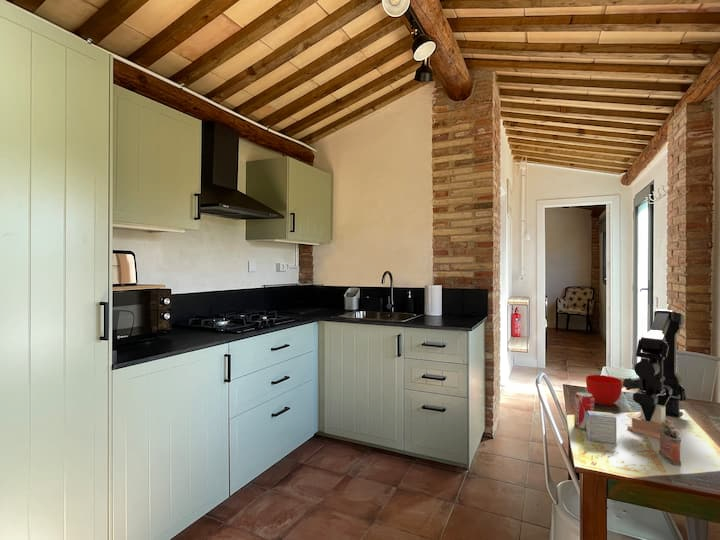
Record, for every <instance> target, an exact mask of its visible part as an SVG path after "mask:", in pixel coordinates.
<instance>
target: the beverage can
mask: <svg viewBox="0 0 720 540" xmlns="http://www.w3.org/2000/svg"><path fill="white" fill-rule="evenodd" d="M573 400H574V401H573V402H574V404H573V405H574V406H573V407H574V416H573V417H574V420H573V421H574V425H575V426H576V427H577V428H579V429H582V430H585V431H587V411H595V401H594V398H593V396H592V394H590V393H588V391H577V392H576V393H575V395H574V397H573Z"/></svg>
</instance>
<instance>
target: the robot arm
mask: <svg viewBox="0 0 720 540" xmlns="http://www.w3.org/2000/svg"><path fill="white" fill-rule="evenodd" d="M684 323H685V316H684V314H683V313H681V312H680V311H674V310H671V309H660V308H659V309H656V310H655V311H654V313H653V321H652V324H651V326H650V328H649V331H647V332H643V334H642V335H641V337H640V338H639V339H638V343H637V347H636V354H635V357H637V358H640V361H638V362H636V364H635V365H634V373H635V374H636V375H637V376H638V377H634V378H631V377H629V378H623V381H622V387H624V388H625V390H626V391H630V390H636V389H637V390H638V391H636V392H634V393H633V394H632V401H634V402H635V403H636V404H638V405H639V406H640V409H641V408H642V410H643V413H644V416H645V419H646V421H649V422H650V420H651V418H652V416H653V414H654V412H655V409H656V407H657V405H662V406H665V416H666V415H667V416H671V417H674V418H680V416H682V415H683V414H684V412H682V411H681V410H680V409H681V408H680V405H681V404H680V402H686V401H687V392H686V389H685V387H684V385H683V383H682V378H681V377H680V376H679V374H678V373H677V349H678V348H677V347H678V346H677V343H678V342H677V340H678V339H677V338H678V334H679V333H680V331H682V328H683V325H684Z"/></svg>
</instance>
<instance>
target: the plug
mask: <svg viewBox="0 0 720 540" xmlns="http://www.w3.org/2000/svg"><path fill="white" fill-rule="evenodd" d="M640 413H641V419H643V420H646V419H645V416H644V413H643V410H642V408H641V407H640ZM665 419H666V414H665V406H662V405H657V407H656V409H655V412H654V414H653V416H652V418H651V420H650V421H651V422H654V423H658V424H662V423H663V422H665Z"/></svg>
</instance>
